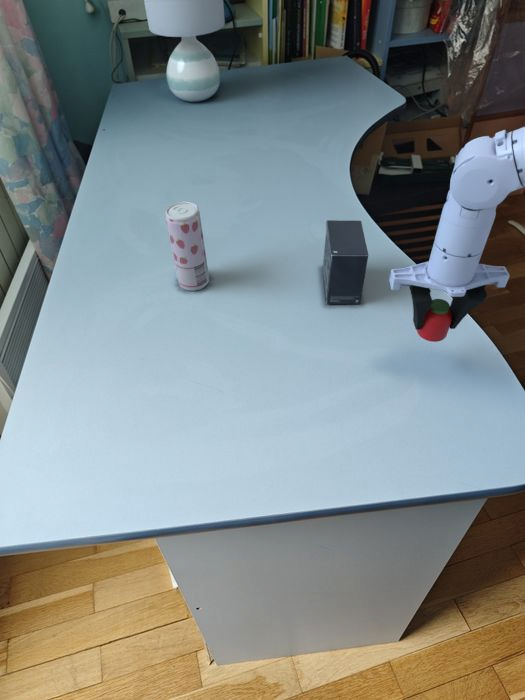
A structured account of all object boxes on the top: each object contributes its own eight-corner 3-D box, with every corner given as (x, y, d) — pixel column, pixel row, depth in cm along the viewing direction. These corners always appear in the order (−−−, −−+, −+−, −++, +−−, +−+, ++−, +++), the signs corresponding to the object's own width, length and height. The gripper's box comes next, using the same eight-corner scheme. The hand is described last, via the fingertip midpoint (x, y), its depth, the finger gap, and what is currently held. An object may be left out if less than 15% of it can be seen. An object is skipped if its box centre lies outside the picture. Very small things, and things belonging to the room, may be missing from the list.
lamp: (241, 88, 157) (231, -78, 127) (211, 114, 143) (192, -65, 114) (182, 81, 163) (160, -79, 133) (148, 105, 149) (115, -67, 120)
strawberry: (442, 321, 71) (451, 294, 67) (450, 341, 68) (459, 315, 64) (413, 321, 71) (420, 295, 67) (420, 342, 68) (427, 315, 64)
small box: (362, 305, 84) (370, 255, 76) (325, 305, 84) (329, 256, 77) (356, 267, 91) (362, 218, 84) (321, 268, 92) (324, 219, 84)
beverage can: (183, 271, 92) (170, 199, 81) (212, 273, 91) (203, 201, 81) (175, 290, 88) (159, 218, 78) (205, 293, 88) (194, 220, 77)
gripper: (405, 265, 56) (386, 345, 66) (532, 261, 56) (494, 343, 66) (394, 230, 61) (378, 310, 71) (510, 227, 60) (478, 308, 70)
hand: (433, 324), depth 68 cm, fingers closed on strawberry, 4 cm apart
